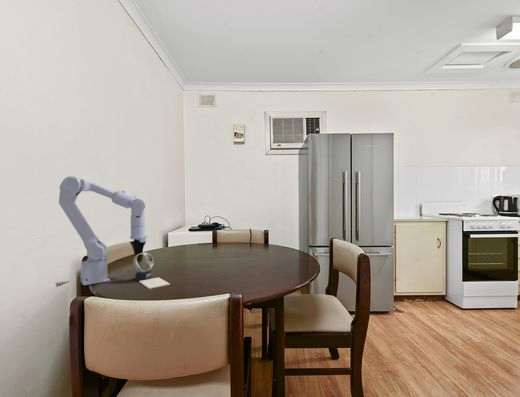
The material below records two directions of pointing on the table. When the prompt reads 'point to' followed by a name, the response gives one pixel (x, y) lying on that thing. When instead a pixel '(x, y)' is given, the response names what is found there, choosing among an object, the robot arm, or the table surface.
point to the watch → (143, 273)
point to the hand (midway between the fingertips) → (138, 257)
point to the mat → (154, 283)
